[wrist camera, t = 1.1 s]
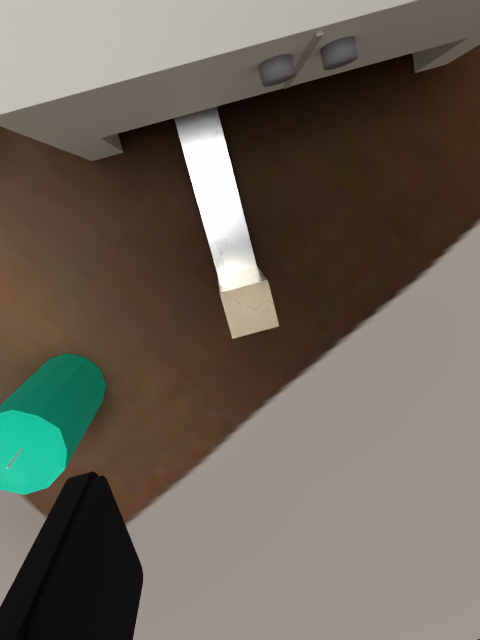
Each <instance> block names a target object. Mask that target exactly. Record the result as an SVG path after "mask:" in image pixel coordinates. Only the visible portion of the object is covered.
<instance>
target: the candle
mask: <svg viewBox="0 0 480 640" xmlns="http://www.w3.org/2000/svg"><path fill="white" fill-rule="evenodd" d="M105 389H106V383H105V380H104V377H103V375H102V372H101V370H100V368H98V367H97V366H96V365H95V364H94V363H92V362H91V361H90V360H89V359H88V358H86V357H82V356H78V355H73V354H69V353H67V354H64V355H60V356H56V357H53V358H50V359H49V360H48V361H47V362H46V363H45V364H44V365H43V366H41V367H40V368H39V369H38V370H37V371H36V372H35V373H34V374H33V375H32V376H31V377H30V378H29V379H28V380H27V381H26V382H24V383H23V384H22V385H21V386H20V387H19V388H18V389H17V390H16V391H15V392H14V393H13V394H12V395H11V396H10V397H9V398H8V399H6V400H5V401H4V402H3V403H2V404H1V405H0V490H4V491H9V492H14V493H19V494H24V495H25V494H28V493H32V492H35V491H38V490H41V489H45V488H48V487H49V486H50V485H51V484H52V483H53V482H54V480H55V479H56V478H57V477H58V476H59V475H60V474H61V473H62V472H63V471H64V470H65V468H66V466H67V465H68V463H69V461H70V459H71V458H72V456H73V454H74V452H75V450H76V449H77V447H78V445H79V443H80V441H81V440H82V438H83V436H84V434H85V432H86V431H87V429H88V427H89V425H90V423H91V422H92V420H93V418H94V416H95V414H96V413H97V411H98V409H99V407H100V405H101V404H102V402H103V399H104V394H105Z"/></svg>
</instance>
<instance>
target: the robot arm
mask: <svg viewBox="0 0 480 640" xmlns="http://www.w3.org/2000/svg"><path fill="white" fill-rule="evenodd" d="M142 584H143V571H142V566H141V563H140V561H139V558H138V556H137V553H136V551H135V548H134V546H133V543H132V541H131V538H130V536H129V533H128V531H127V528H126V526H125V523H124V521H123V518H122V516H121V513H120V511H119V508H118V506H117V503H116V501H115V499H114V496H113V494H112V491H111V489H110V486H109V484H108V481H107V479H106V478H105V477H104V476H98V475H97V474H96V473H95V472H90V473H86V474H82V475H78V476H75V477H71V478H68V480H67V481H66V483H65V485H64V486H63V488H62V490H61V492H60V494H59V496H58V498H57V500H56V502H55V504H54V506H53V507H52V509H51V511H50V513H49V515H48V517H47V519H46V521H45V523H44V525H43V527H42V528H41V530H40V532H39V534H38V536H37V538H36V540H35V542H34V544H33V546H32V548H31V549H30V551H29V553H28V555H27V557H26V559H25V561H24V563H23V565H22V567H21V569H20V570H19V572H18V574H17V576H16V578H15V580H14V582H13V584H12V586H11V588H10V590H9V591H8V593H7V595H6V597H5V599H4V601H3V603H2V605H1V607H0V640H133V635H134V629H135V624H136V618H137V612H138V607H139V600H140V596H141V590H142ZM478 640H480V639H478Z"/></svg>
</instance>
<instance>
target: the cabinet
mask: <svg viewBox="0 0 480 640" xmlns="http://www.w3.org/2000/svg"><path fill="white" fill-rule="evenodd" d="M478 45H480V0H0V126H1V127H4V128H7V129H9V130H12V131H14V132H17V133H20V134H22V135H25V136H28V137H30V138H33V139H35V140H38V141H41V142H43V143H46V144H49V145H51V146H54V147H56V148H59V149H62V150H64V151H67V152H70V153H72V154H75V155H77V156H80V157H83V158H85V159H88V160H91V161H94V160H98V159H102V158H105V157H109V156H113V155H116V154H120V153H124V152H123V149H122V146H121V142H120V139H119V136H118V133H121V132H125V131H129V130H132V129H136V128H140V127H143V126H147V125H151V124H154V123H158V122H162V121H165V120H169V119H173V118H176V117H180V116H183V115H187V114H191V113H194V112H198V111H202V110H205V109H209V108H213V107H216V106H220V105H224V104H227V103H231V102H235V101H238V100H242V99H246V98H249V97H253V96H257V95H260V94H264V93H268V92H271V91H275V90H279V89H282V88H284V89H286V88H289V87H290V86H293V85H297V84H301V83H304V82H308V81H312V80H315V79H319V78H323V77H326V76H330V75H334V74H337V73H341V72H345V71H348V70H352V69H356V68H359V67H363V66H367V65H370V64H374V63H378V62H381V61H385V60H389V59H392V58H396V57H400V56H403V55H407V54H411V53H412V54H413V62H414V70H415V73H417V72H421V71H424V70H428V69H432V68H435V67H439V66H443V65H446V64H448V63H450V62H452V61H453V60H455V59H457V58H458V57H460V56H461V55H463V54H465V53H466V52H468V51H470V50H471V49H473V48H475V47H476V46H478Z"/></svg>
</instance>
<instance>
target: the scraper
mask: <svg viewBox="0 0 480 640" xmlns="http://www.w3.org/2000/svg"><path fill="white" fill-rule="evenodd" d="M174 120H175V124H176V127H177V131H178V134H179V138H180V142H181V145H182V149H183V152H184V156H185V159H186V163H187V167H188V170H189V174H190V177H191V181H192V185H193V188H194V192H195V195H196V199H197V203H198V206H199V210H200V213H201V217H202V221H203V224H204V228H205V231H206V235H207V238H208V242H209V246H210V249H211V253H212V256H213V260H214V264H215V267H216V271H217V274H218V281H219V291H220V296H221V299H222V303H223V307H224V310H225V314H226V317H227V321H228V324H229V328H230V332H231V335H232V339H234V338H237V337H241V336H245V335H248V334H252V333H256V332H260V331H263V330H267V329H271V328H274V327H278V326H279V323H278V319H277V315H276V311H275V307H274V303H273V299H272V295H271V291H270V287H269V283H268V280H267V278H266V277H265V276H264V274H263V273H262V272H261V271H260V269H259V268H258V267H257V265H256V261H255V257H254V253H253V249H252V245H251V241H250V237H249V233H248V230H247V226H246V222H245V218H244V214H243V210H242V206H241V202H240V198H239V194H238V190H237V186H236V182H235V178H234V174H233V170H232V166H231V162H230V158H229V154H228V150H227V146H226V142H225V138H224V134H223V130H222V126H221V122H220V118H219V114H218V110H217V106H216V107H213V108H209V109H205V110H202V111H198V112H194V113H191V114H187V115H183V116H180V117H176V118H174Z"/></svg>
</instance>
